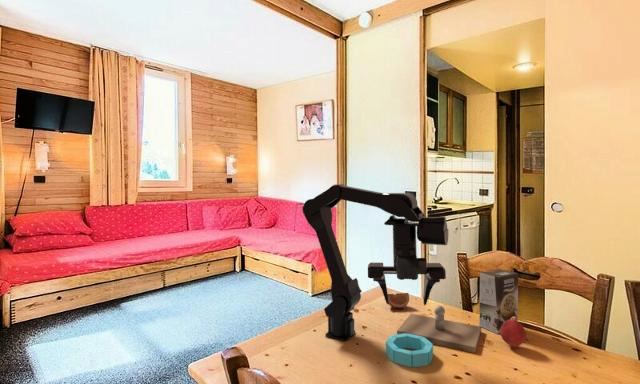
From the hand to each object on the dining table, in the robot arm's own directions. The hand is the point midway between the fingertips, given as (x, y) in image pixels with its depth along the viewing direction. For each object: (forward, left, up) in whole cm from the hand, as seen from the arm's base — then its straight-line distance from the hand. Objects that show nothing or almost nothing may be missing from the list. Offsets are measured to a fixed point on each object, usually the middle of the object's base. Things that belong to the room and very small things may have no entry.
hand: (406, 304), depth 89 cm
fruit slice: (-11, +28, -12) cm, 32 cm away
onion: (+24, +15, -12) cm, 30 cm away
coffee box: (+20, +27, -12) cm, 35 cm away
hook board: (+6, +14, -12) cm, 19 cm away
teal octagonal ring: (+2, -2, -12) cm, 12 cm away
